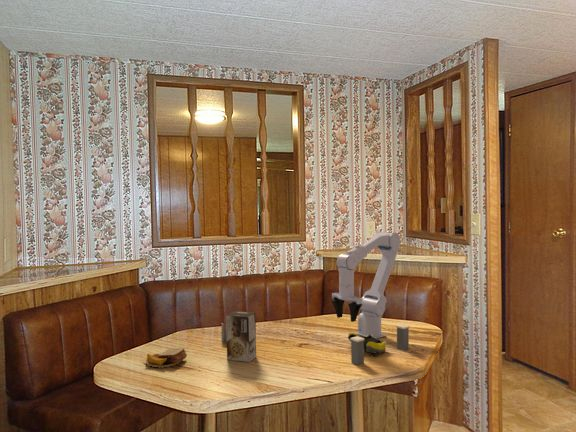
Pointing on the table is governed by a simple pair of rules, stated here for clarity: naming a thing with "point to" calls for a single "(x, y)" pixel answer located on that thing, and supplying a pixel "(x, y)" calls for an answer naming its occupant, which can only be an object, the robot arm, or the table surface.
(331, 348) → the table surface
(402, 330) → the posts
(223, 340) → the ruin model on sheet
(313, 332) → the table surface
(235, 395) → the table surface
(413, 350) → the table surface
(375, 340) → the black yellow sneaker
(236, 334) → the coffee box
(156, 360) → the toy sandwich meal
